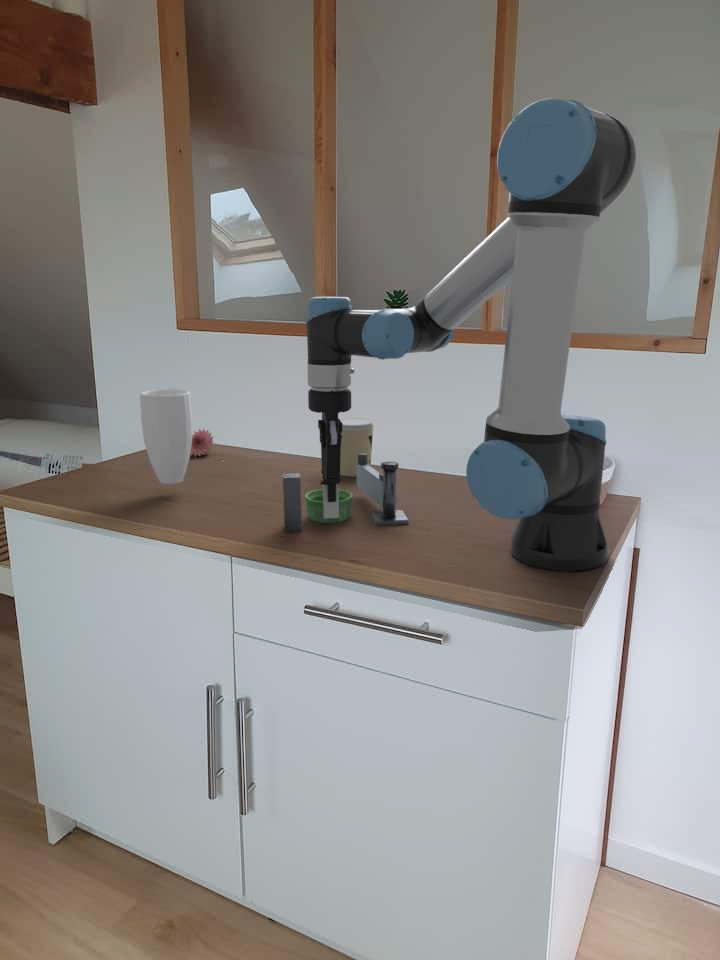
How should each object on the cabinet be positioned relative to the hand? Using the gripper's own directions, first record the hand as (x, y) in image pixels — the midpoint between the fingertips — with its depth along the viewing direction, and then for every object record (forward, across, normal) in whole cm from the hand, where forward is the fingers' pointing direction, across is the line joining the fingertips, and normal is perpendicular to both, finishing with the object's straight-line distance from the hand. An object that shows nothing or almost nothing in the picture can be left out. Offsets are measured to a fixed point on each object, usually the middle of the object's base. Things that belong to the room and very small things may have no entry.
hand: (331, 516), depth 135 cm
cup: (+2, +25, +31) cm, 40 cm away
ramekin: (+2, +5, 0) cm, 6 cm away
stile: (+2, -1, +7) cm, 7 cm away
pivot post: (+2, +2, -11) cm, 11 cm away
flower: (+2, +61, +27) cm, 67 cm away
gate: (0, +11, -10) cm, 15 cm away
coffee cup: (+2, +38, -9) cm, 39 cm away
